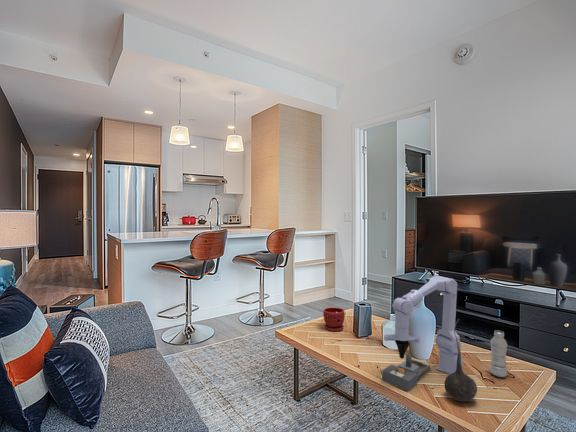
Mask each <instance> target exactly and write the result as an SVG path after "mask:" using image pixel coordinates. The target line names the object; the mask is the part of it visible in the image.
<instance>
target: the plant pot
mask: <svg viewBox="0 0 576 432" xmlns="http://www.w3.org/2000/svg"><path fill="white" fill-rule="evenodd" d="M322 312H323V320H324V323H325V325H324V327H325V328H324V329H326V330H327V331H329V332H340V331H342V330H343V329H344V325H343V324H344V322H345V313H346V311H345V310H344V308H341V307H327V308H324V309H323V311H322Z"/></svg>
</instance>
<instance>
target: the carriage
mask: <svg viewBox="0 0 576 432" xmlns="http://www.w3.org/2000/svg"><path fill="white" fill-rule="evenodd" d="M412 356H413V355H412V354H411V353H405V361H403V362H401V363H400V364H398V365H397V367H400V368H403V369H405V370H408V371H410V372H413V373H416V374H418V373H419V366H416V365H413V364H411V363H412Z"/></svg>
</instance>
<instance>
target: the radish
mask: <svg viewBox="0 0 576 432" xmlns="http://www.w3.org/2000/svg"><path fill="white" fill-rule="evenodd" d="M458 321H459V320H457V321H455V328H454V334H455V332H456V327H457V323H458ZM455 337H456V334H455ZM456 341H457V348H458V356H457V368H456V371H455V372H454V373H452V374H448V375H447V376H446V378H445V380H444V389H445V392H446V394H448V396H449V397H451V398H452V399H453V400H456V401H458V402H464V403H465V402H469V401H472V400H473V399H475V397H476V396H477V393H478V386H477V383H476V381H475V380H474V379H473V378H472V377H470V376H469V375H468V374H466V373H465V372H464V370H463V364H462V365H461V355H462V354H461V353H462V351H461V349H460V347H459V343H458V340H457V337H456Z"/></svg>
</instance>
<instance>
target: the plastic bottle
mask: <svg viewBox="0 0 576 432" xmlns="http://www.w3.org/2000/svg"><path fill="white" fill-rule="evenodd" d="M493 332H494V333H493V337H491V339H490V343H489V344H490V349H491V359H490V365H489V372H490V373H491V375H493V376H494V377H497V378H506V377H507V375H508V367H507V359H506V358H507V351H508V343H507V340H506V339H505V338H504V337H505V332H504V331H502V330H498V329H497V330H496V329H495V330H494V331H493Z"/></svg>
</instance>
